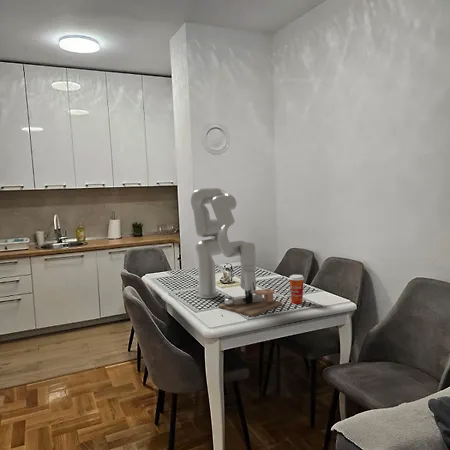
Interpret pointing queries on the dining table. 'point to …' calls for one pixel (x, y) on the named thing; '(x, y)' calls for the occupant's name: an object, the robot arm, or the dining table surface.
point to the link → (241, 300)
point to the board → (251, 307)
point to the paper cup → (296, 288)
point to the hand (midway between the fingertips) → (249, 302)
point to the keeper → (265, 294)
